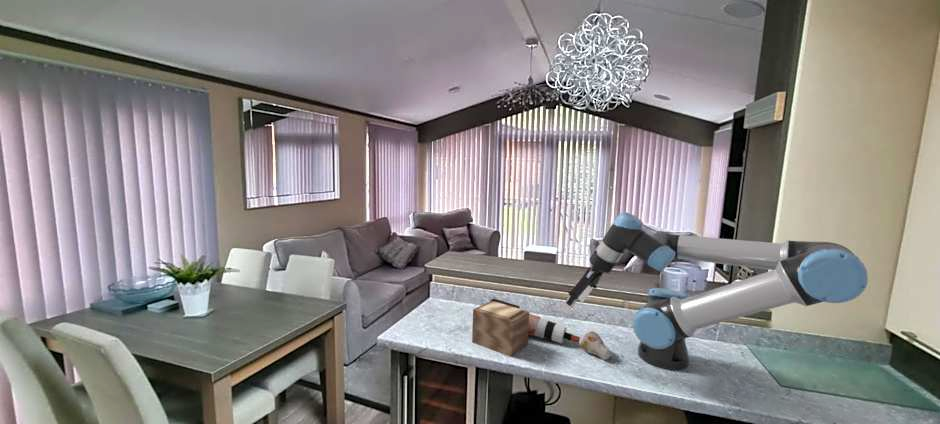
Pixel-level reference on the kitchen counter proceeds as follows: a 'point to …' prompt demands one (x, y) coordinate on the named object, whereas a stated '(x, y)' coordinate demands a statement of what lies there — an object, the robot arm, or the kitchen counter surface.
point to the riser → (500, 327)
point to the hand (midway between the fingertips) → (572, 305)
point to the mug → (595, 345)
